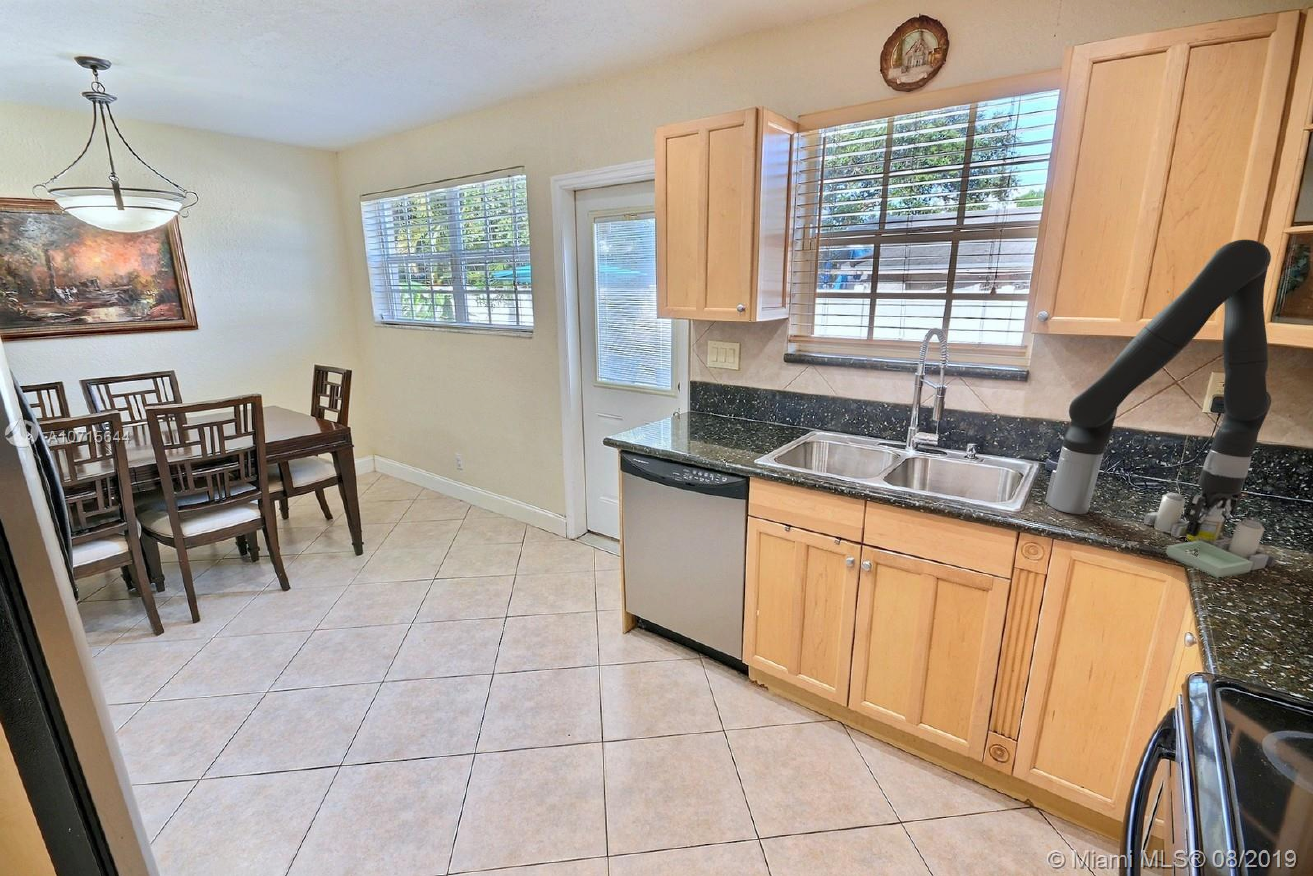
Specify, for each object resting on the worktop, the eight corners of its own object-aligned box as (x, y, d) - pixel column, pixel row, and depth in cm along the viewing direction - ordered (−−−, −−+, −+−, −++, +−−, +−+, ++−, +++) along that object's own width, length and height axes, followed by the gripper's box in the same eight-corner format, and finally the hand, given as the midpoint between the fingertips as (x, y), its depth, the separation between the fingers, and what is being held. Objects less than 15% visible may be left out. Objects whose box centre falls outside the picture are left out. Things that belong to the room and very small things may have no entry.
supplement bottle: (1198, 538, 146) (1211, 501, 143) (1220, 549, 141) (1234, 511, 138) (1178, 539, 146) (1190, 501, 142) (1200, 550, 140) (1213, 511, 137)
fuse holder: (1142, 524, 154) (1145, 513, 153) (1161, 520, 156) (1165, 510, 155) (1253, 570, 132) (1257, 558, 131) (1274, 566, 134) (1278, 554, 133)
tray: (1164, 555, 138) (1167, 545, 137) (1196, 549, 141) (1199, 540, 140) (1216, 578, 128) (1220, 568, 127) (1249, 572, 131) (1253, 562, 130)
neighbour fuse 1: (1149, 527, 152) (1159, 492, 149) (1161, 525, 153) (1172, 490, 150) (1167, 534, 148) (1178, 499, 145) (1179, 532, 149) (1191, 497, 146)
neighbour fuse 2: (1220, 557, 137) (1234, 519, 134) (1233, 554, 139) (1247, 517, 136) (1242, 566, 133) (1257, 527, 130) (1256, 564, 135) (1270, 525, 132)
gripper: (1226, 462, 143) (1206, 522, 148) (1185, 467, 139) (1165, 529, 144) (1264, 473, 136) (1242, 536, 141) (1222, 479, 132) (1200, 543, 137)
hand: (1203, 532), depth 142 cm, fingers open, 8 cm apart
